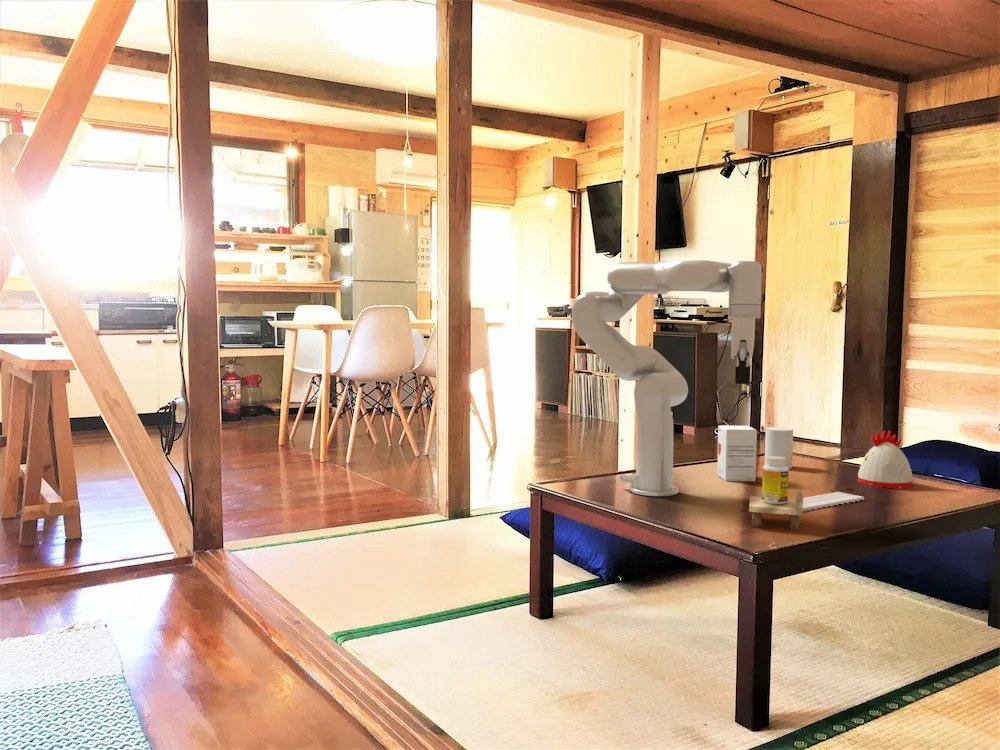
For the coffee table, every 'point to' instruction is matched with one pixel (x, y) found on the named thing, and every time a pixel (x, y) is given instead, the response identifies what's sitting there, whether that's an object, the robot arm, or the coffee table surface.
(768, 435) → the cup
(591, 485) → the coffee table surface
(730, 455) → the supplement box
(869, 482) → the kitchen timer
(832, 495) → the baseboard
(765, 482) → the supplement bottle
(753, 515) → the shelf
